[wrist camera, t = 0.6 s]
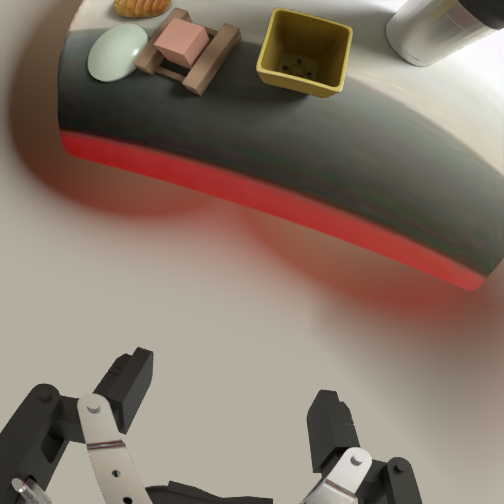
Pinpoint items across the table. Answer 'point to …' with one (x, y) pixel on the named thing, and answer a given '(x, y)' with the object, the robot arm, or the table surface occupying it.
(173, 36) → the part
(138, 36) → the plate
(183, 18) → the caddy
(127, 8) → the pastry
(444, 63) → the table surface
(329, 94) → the flower pot
